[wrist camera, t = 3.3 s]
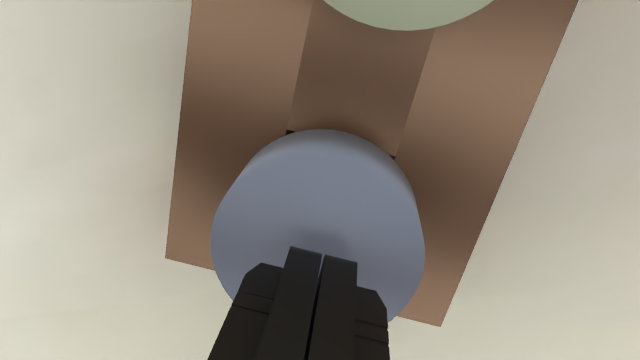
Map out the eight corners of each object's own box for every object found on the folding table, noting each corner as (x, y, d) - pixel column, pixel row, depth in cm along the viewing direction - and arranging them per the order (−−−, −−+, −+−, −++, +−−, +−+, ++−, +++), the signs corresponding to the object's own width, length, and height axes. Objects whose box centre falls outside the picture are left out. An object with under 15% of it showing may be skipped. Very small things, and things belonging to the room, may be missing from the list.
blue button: (271, 85, 15) (225, 129, 10) (428, 124, 15) (456, 186, 10) (245, 224, 17) (198, 313, 12) (384, 259, 17) (389, 361, 12)
